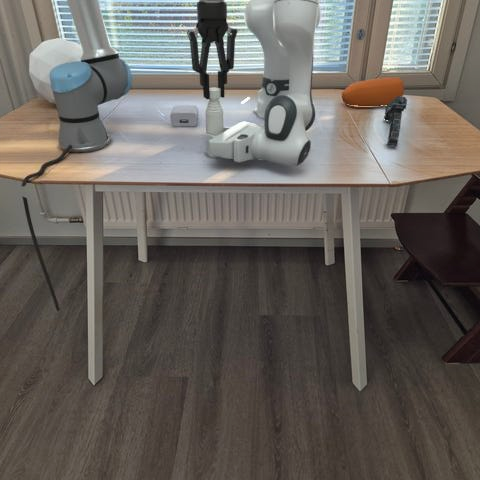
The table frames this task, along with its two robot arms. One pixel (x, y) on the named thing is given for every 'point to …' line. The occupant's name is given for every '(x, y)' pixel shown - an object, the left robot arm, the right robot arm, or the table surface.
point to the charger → (184, 116)
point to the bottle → (214, 120)
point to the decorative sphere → (51, 62)
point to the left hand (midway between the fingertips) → (213, 96)
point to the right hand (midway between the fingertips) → (212, 133)
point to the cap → (215, 92)
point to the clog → (373, 92)
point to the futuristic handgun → (395, 118)
